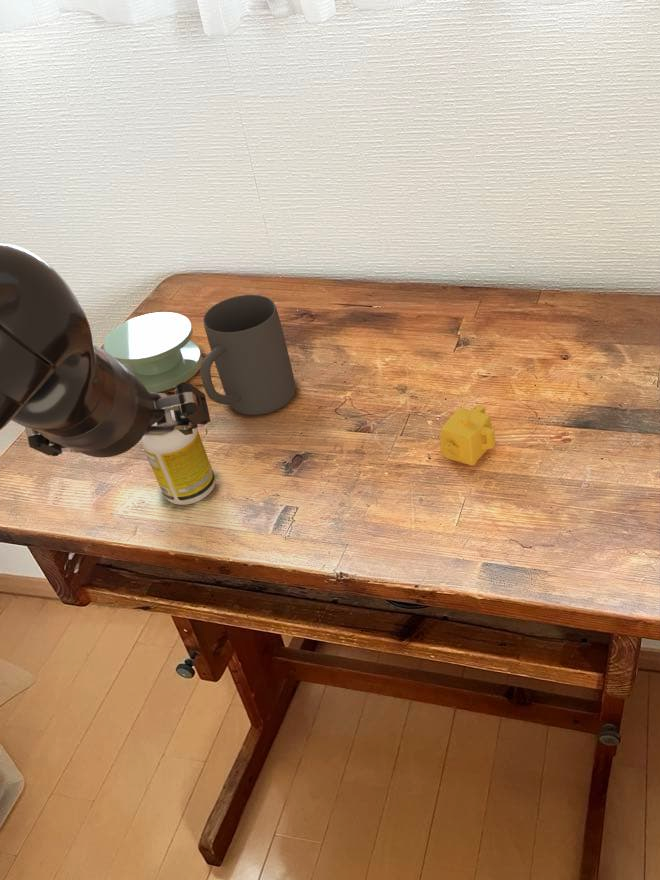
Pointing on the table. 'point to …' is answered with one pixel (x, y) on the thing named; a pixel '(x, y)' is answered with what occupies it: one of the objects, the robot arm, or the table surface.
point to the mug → (248, 355)
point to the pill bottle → (180, 465)
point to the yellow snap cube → (467, 435)
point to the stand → (156, 349)
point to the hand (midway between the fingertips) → (141, 433)
